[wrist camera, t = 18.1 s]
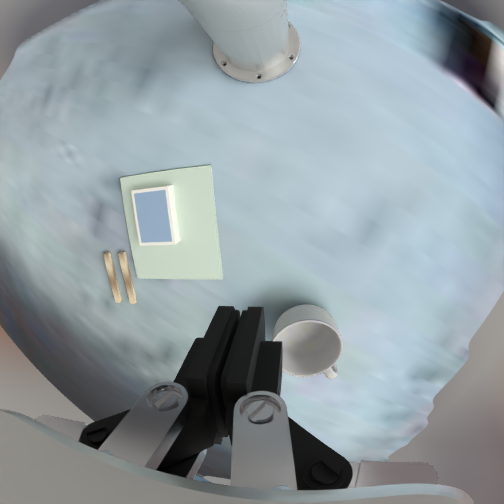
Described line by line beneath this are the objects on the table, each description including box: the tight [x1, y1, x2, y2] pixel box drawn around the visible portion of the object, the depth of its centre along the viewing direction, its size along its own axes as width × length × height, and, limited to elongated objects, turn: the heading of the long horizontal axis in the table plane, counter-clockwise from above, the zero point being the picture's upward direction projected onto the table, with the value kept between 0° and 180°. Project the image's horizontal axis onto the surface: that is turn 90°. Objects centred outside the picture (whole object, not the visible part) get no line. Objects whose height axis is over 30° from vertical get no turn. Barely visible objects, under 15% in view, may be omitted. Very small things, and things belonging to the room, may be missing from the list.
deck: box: [131, 185, 180, 246], centre depth 42 cm, size 9×2×6 cm
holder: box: [103, 252, 137, 304], centre depth 48 cm, size 10×5×1 cm, turn 4°
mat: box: [120, 165, 223, 279], centre depth 44 cm, size 18×16×1 cm
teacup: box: [272, 304, 343, 379], centre depth 43 cm, size 14×11×8 cm
